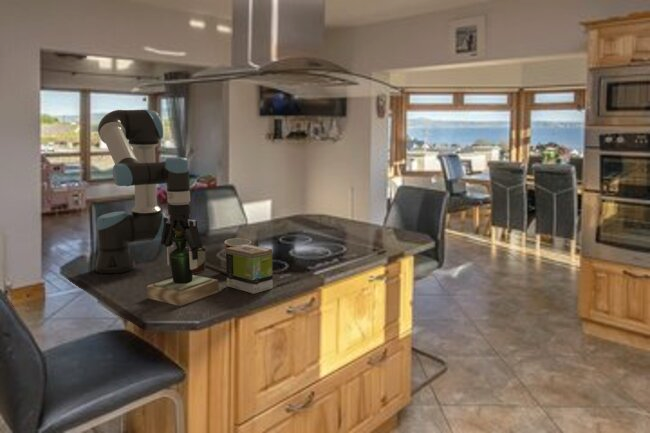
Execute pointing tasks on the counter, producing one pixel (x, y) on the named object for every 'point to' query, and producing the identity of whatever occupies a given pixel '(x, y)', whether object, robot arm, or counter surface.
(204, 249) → the food container
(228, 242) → the plastic cup
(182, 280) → the potion bottle
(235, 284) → the tea box
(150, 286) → the pedestal base
